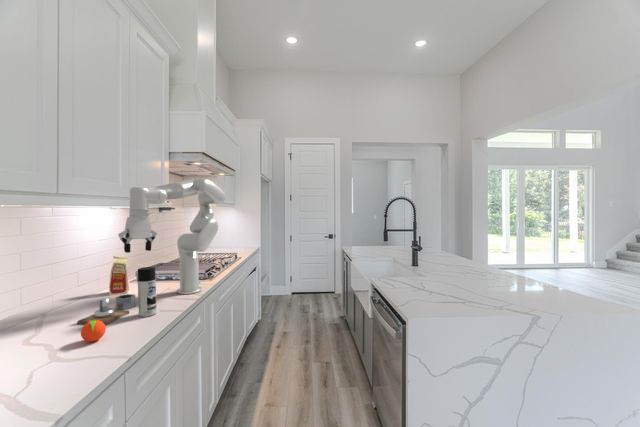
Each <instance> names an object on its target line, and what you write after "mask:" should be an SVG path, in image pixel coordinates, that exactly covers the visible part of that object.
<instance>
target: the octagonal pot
mask: <svg viewBox="0 0 640 427" xmlns="http://www.w3.org/2000/svg"><path fill="white" fill-rule="evenodd" d="M135 307H136V295H135V294H129V293H126V294H120V295H117V296H116V297H115V309H116V310H126V311H128V310H130V309H133V308H135Z"/></svg>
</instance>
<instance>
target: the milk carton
mask: <svg viewBox="0 0 640 427" xmlns="http://www.w3.org/2000/svg"><path fill="white" fill-rule="evenodd" d="M128 260H129V257H120V256H115V255H113V262H112V263H113V264H112V267H111V270H110V277H109V278H110V279H109V286H108V287H109V288H108V290H109V292H108V295H109V297H110V296H111V297H112V296H120V295H126V294H129V292H130V286H129V279H128V278H129V277H128V271H127V261H128Z"/></svg>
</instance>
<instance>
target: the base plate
mask: <svg viewBox="0 0 640 427" xmlns="http://www.w3.org/2000/svg"><path fill="white" fill-rule="evenodd" d="M129 314H130V310H117V309H116V310H115V309H114V315H113V316H110V317H106V318H95V313H93V314H90V315H88V316H86V317H84V318H81V319H79V320H77V322H76V323H77V325H85V324H86V323H88V322H90V321H93V320H99V321H101V322H103V323H104V325H105V326H107V325H109V324H110V323H113V322H114V321H116V320H119V319H121V318H122V317H124V316H127V315H129Z"/></svg>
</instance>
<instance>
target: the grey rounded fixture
mask: <svg viewBox="0 0 640 427" xmlns="http://www.w3.org/2000/svg"><path fill="white" fill-rule="evenodd" d="M98 305H99V306H98V307H99V309H97V310H95V311H94V314H95V318H106V317H110V316H113V315H114V310H115V308H113V307H112V308H111V307H110V297H102V298H99V299H98Z"/></svg>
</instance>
